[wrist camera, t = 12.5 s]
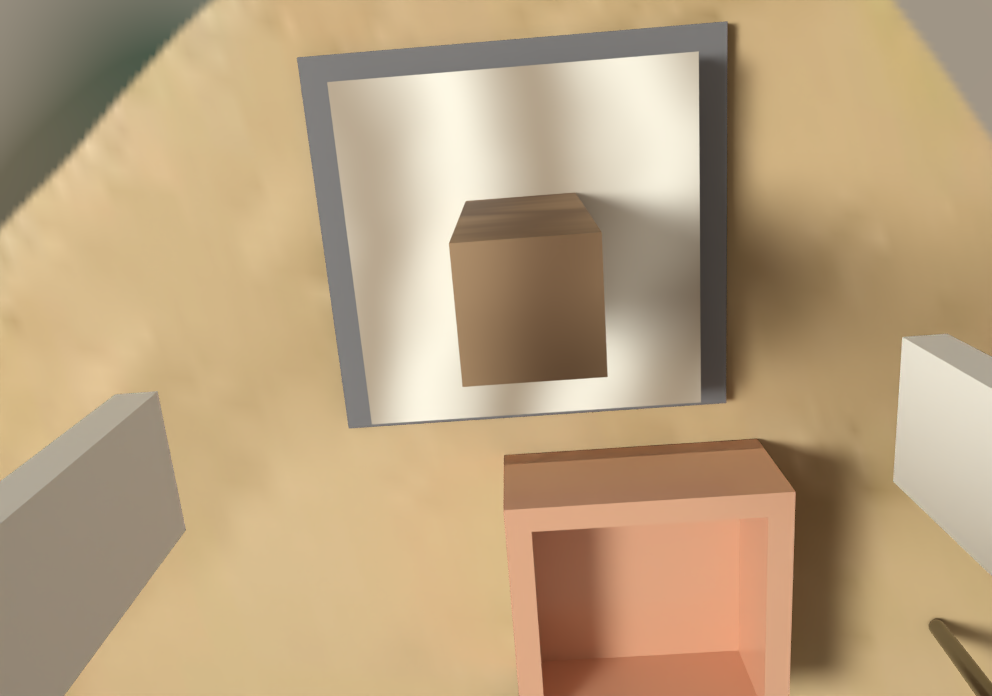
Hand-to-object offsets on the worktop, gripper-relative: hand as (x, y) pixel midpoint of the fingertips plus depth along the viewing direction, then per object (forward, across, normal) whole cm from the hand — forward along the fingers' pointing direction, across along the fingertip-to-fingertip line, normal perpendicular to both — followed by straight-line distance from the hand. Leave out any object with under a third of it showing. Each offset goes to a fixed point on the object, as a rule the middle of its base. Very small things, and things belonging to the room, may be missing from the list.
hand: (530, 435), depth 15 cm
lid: (+19, 0, 0) cm, 19 cm away
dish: (+20, +4, -15) cm, 25 cm away
